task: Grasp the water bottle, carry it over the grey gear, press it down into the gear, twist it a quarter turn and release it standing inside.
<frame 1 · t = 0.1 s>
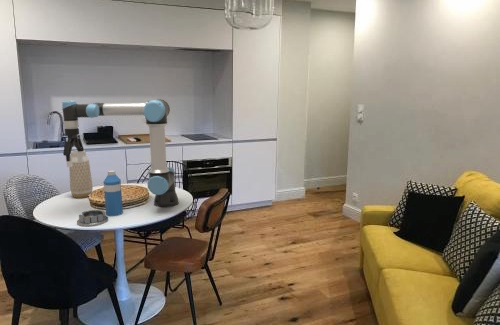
hand: (75, 164, 232), 28 cm above the table, fingers open, 13 cm apart
grey gear: (92, 221, 218), on the table
vase: (82, 196, 268), on the table
water bottle: (114, 213, 231), on the table
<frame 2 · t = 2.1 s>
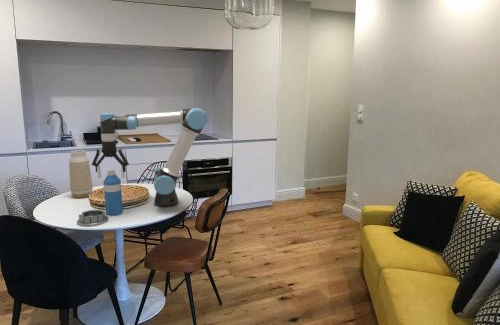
hand: (111, 177, 227), 21 cm above the table, fingers open, 13 cm apart
nothing on the table moved.
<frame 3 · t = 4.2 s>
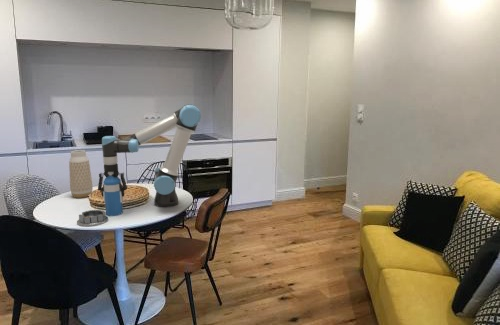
hand: (113, 201, 230), 7 cm above the table, fingers closed on water bottle, 9 cm apart
water bottle: (114, 213, 231), on the table, touching gripper
everything else where it was.
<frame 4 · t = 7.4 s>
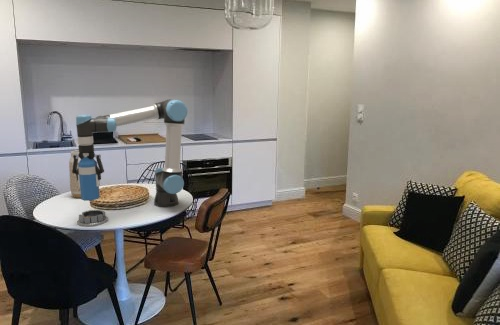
hand: (89, 185, 214), 20 cm above the table, fingers closed on water bottle, 9 cm apart
water bottle: (90, 198, 215), point 13 cm above the table, touching gripper
everything else where it was.
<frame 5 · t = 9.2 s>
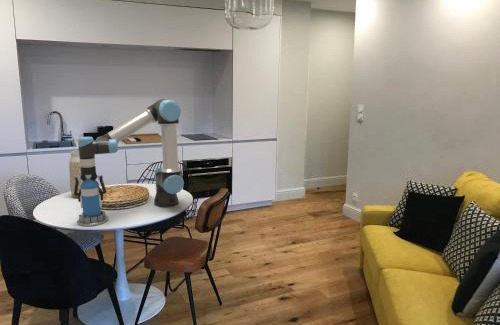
hand: (91, 206, 216), 8 cm above the table, fingers closed on water bottle, 9 cm apart
water bottle: (92, 219, 217), point 1 cm above the table, touching gripper
everything else where it was.
when the fingers open (8 cm above the table, at t = 10.6 s): water bottle stays where it is, resting on grey gear.
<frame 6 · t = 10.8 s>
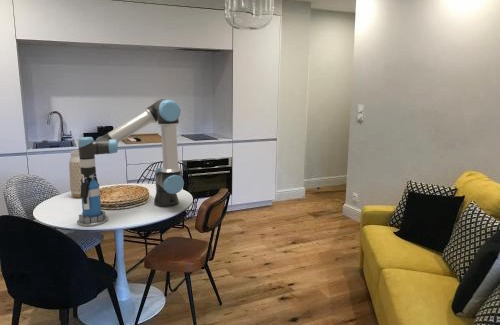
hand: (91, 205, 216), 9 cm above the table, fingers open, 11 cm apart
water bottle: (92, 220, 218), point 1 cm above the table, touching grey gear
everything else where it was.
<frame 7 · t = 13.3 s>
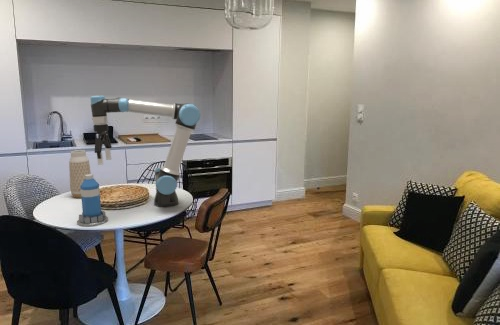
hand: (104, 162, 223), 31 cm above the table, fingers open, 13 cm apart
nothing on the table moved.
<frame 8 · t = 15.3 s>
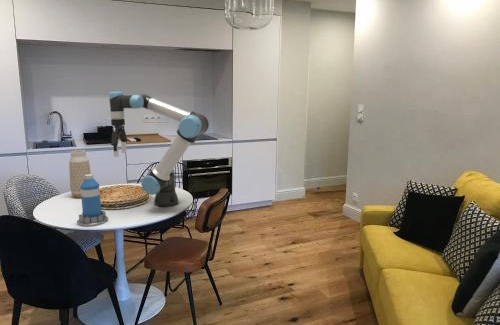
hand: (120, 154, 236), 33 cm above the table, fingers open, 13 cm apart
nothing on the table moved.
at the end: water bottle 0.0 cm off-centre on the grey gear, point 0.8 cm above the grey gear's base; water bottle tilted 0°; the gripper is holding nothing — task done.
